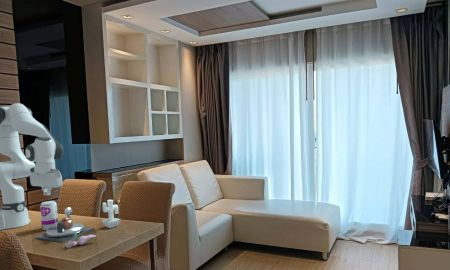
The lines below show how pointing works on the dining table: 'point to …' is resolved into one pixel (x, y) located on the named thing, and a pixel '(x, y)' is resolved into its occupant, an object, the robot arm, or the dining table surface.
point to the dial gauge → (68, 212)
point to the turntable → (60, 232)
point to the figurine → (110, 214)
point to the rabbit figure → (81, 241)
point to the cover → (67, 223)
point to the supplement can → (48, 214)
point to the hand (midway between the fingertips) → (47, 195)
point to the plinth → (65, 238)
